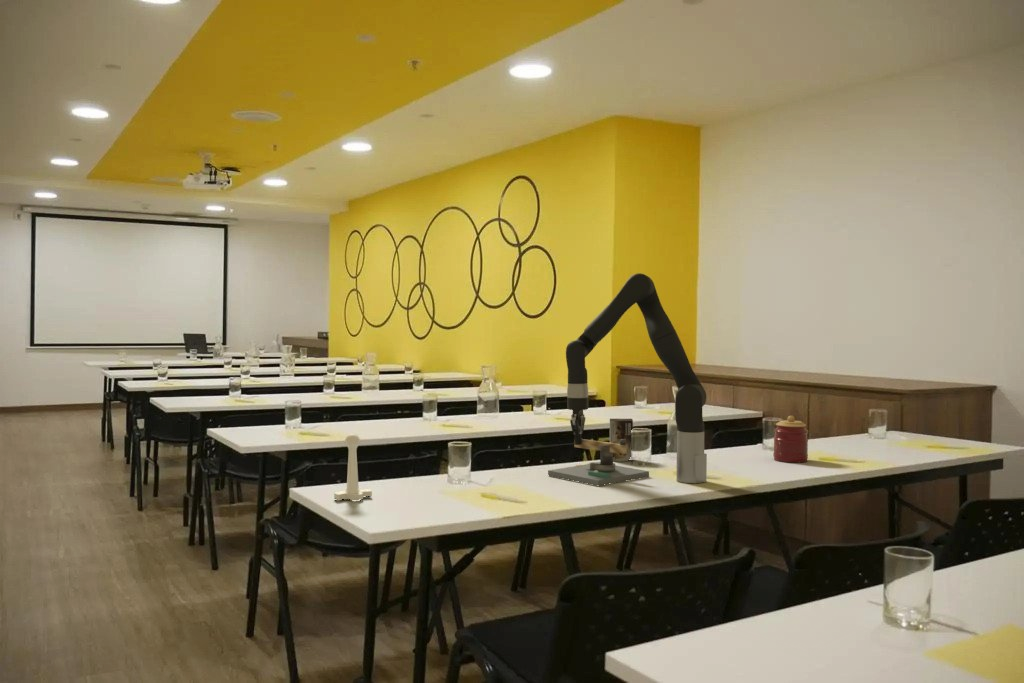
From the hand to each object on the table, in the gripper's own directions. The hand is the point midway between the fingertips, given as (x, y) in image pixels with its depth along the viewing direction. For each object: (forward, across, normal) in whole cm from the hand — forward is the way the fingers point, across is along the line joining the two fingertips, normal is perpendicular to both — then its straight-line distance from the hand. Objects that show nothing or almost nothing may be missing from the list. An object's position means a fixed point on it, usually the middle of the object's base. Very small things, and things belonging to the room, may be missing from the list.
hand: (578, 444), depth 305 cm
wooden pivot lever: (+8, -1, -8) cm, 12 cm away
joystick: (+11, -65, +54) cm, 85 cm away
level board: (+11, -3, -8) cm, 14 cm away
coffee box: (+10, +34, -9) cm, 37 cm away
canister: (+11, +56, -72) cm, 92 cm away
